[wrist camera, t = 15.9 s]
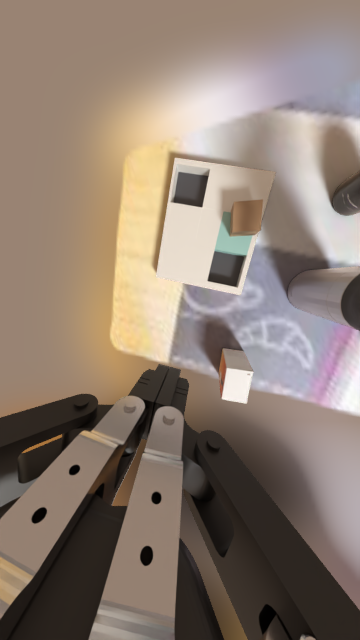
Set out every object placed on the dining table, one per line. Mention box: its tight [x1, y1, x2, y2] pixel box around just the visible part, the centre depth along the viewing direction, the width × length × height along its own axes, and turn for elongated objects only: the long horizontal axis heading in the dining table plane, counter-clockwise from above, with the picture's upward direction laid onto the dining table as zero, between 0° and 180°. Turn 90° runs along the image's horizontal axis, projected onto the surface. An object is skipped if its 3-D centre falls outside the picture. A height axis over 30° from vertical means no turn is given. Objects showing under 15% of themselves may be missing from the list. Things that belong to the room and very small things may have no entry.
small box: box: [219, 348, 254, 403], centre depth 42 cm, size 8×6×10 cm
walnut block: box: [230, 199, 263, 237], centre depth 35 cm, size 5×5×4 cm
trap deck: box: [156, 158, 276, 295], centre depth 40 cm, size 20×24×3 cm
